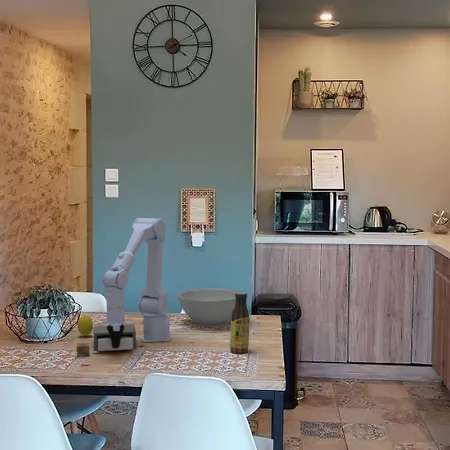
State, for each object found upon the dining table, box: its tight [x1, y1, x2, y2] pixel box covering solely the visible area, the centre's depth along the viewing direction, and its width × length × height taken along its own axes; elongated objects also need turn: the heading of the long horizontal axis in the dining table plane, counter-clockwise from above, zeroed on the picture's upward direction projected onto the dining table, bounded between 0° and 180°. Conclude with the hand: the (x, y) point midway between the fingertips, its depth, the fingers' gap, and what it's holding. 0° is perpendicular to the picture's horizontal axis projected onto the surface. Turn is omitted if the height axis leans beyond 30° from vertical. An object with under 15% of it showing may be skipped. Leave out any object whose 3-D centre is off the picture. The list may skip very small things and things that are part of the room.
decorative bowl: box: [177, 287, 242, 329], centre depth 257 cm, size 27×27×12 cm
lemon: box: [77, 314, 94, 337], centre depth 236 cm, size 6×6×8 cm
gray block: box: [93, 323, 137, 352], centre depth 224 cm, size 14×11×6 cm
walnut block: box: [76, 342, 90, 358], centre depth 212 cm, size 4×4×4 cm
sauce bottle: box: [229, 291, 251, 354], centre depth 217 cm, size 6×6×20 cm
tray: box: [97, 336, 134, 352], centre depth 219 cm, size 11×10×4 cm
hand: (115, 347), depth 213 cm, fingers closed
